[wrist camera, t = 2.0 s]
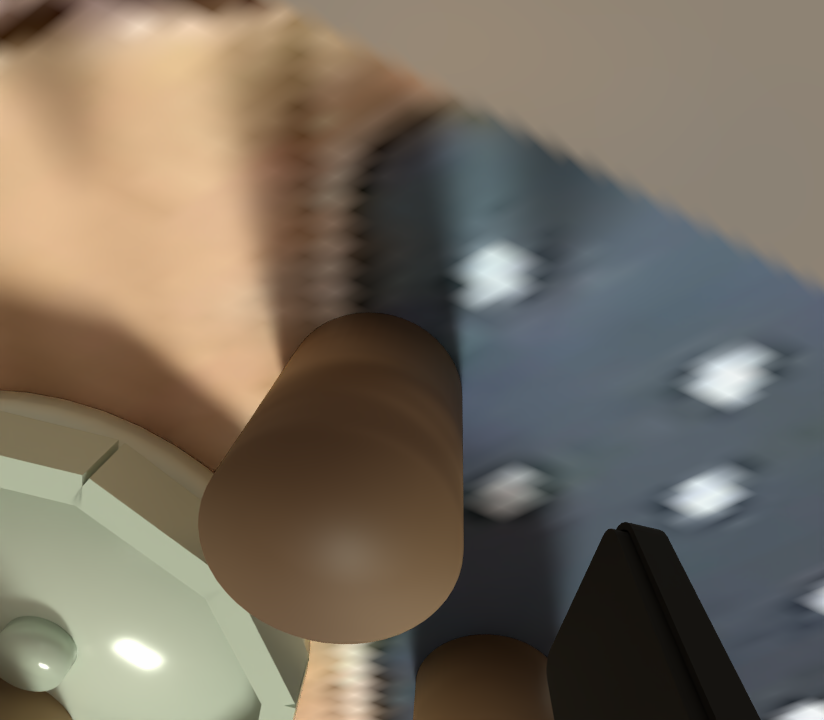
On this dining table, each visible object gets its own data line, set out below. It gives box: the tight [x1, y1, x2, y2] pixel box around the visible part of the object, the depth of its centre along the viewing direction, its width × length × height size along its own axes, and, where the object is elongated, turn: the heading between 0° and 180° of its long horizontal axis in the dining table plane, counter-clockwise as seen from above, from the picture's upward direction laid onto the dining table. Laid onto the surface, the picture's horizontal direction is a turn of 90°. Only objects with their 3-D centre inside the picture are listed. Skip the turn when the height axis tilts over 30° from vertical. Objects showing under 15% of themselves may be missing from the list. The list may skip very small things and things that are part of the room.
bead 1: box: [198, 312, 464, 644], centre depth 11 cm, size 4×4×5 cm
